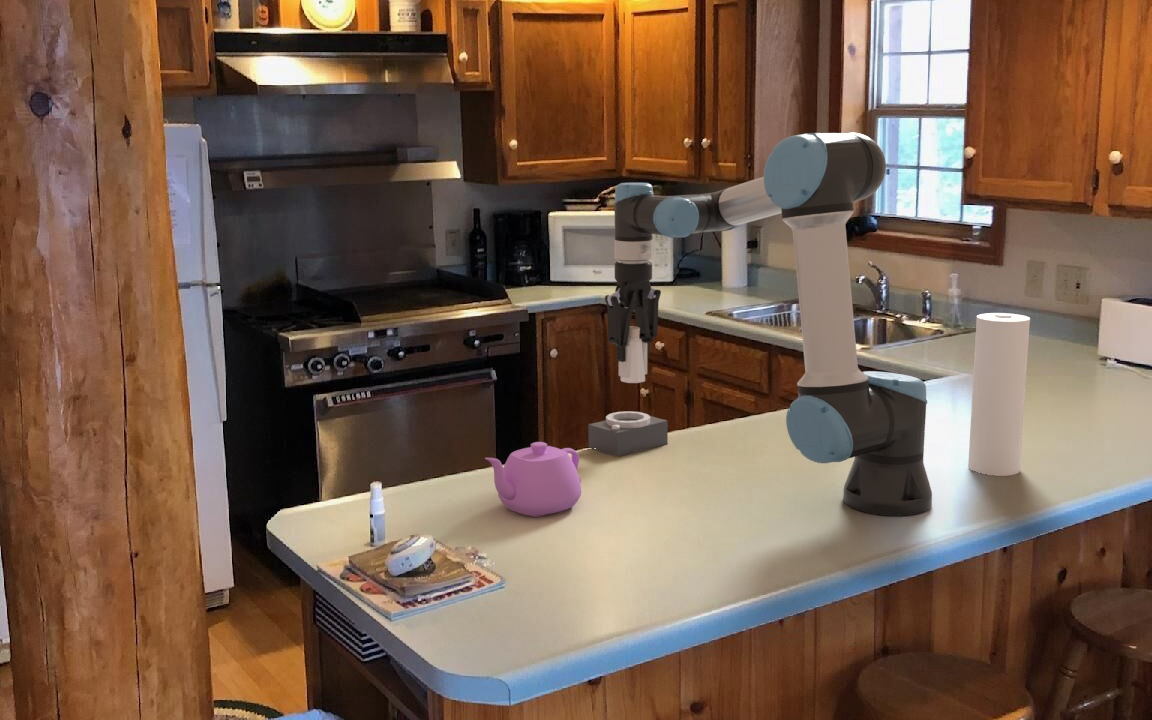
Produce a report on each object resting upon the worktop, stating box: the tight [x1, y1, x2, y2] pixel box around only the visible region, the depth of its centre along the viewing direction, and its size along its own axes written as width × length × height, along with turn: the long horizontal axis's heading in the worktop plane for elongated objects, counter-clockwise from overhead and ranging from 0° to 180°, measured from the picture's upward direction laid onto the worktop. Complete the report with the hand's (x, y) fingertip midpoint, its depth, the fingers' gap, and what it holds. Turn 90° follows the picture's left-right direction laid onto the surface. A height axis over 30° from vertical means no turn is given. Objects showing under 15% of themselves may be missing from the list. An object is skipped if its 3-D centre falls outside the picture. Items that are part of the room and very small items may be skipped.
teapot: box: [484, 441, 582, 518], centre depth 208 cm, size 20×13×12 cm, turn 128°
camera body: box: [587, 410, 669, 458], centre depth 247 cm, size 14×9×6 cm, turn 130°
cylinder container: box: [967, 312, 1031, 477], centre depth 226 cm, size 9×9×30 cm
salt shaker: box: [620, 325, 646, 384], centre depth 242 cm, size 5×5×11 cm
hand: (632, 374), depth 243 cm, fingers closed on salt shaker, 4 cm apart
